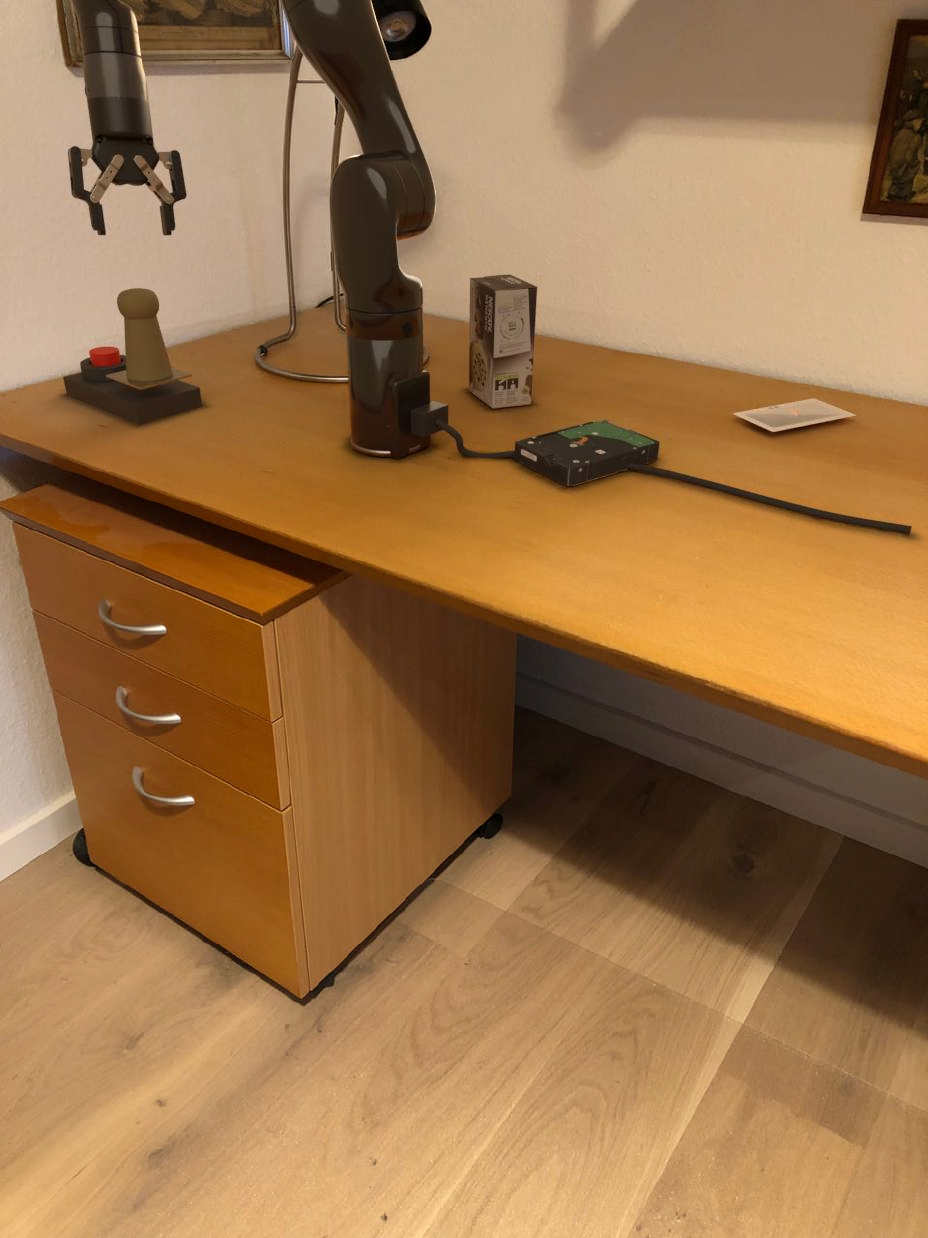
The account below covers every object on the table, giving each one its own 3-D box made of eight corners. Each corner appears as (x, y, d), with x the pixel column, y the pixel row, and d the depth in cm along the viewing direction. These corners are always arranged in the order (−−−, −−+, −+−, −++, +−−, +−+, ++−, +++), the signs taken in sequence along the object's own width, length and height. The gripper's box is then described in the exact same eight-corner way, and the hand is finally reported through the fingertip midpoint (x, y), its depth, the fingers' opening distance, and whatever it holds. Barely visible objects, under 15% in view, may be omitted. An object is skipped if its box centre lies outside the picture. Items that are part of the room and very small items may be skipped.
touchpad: (854, 422, 129) (858, 407, 127) (771, 439, 123) (774, 423, 122) (812, 405, 135) (815, 390, 133) (730, 421, 129) (733, 405, 127)
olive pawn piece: (179, 368, 130) (167, 285, 124) (163, 381, 124) (149, 295, 119) (136, 366, 130) (122, 283, 124) (118, 379, 125) (103, 293, 119)
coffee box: (533, 404, 133) (539, 286, 125) (491, 409, 131) (494, 289, 123) (507, 385, 140) (511, 272, 132) (466, 390, 138) (468, 275, 130)
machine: (202, 406, 131) (198, 374, 128) (139, 425, 124) (133, 391, 122) (128, 379, 140) (123, 349, 138) (66, 395, 134) (60, 363, 132)
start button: (127, 363, 133) (124, 349, 132) (101, 369, 131) (99, 355, 130) (111, 358, 136) (108, 344, 135) (86, 364, 133) (83, 350, 132)
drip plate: (191, 376, 128) (191, 373, 128) (140, 389, 122) (140, 387, 122) (157, 364, 132) (157, 362, 132) (106, 377, 127) (105, 374, 127)
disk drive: (569, 491, 108) (659, 461, 116) (570, 468, 107) (661, 439, 114) (512, 462, 115) (600, 436, 123) (512, 441, 114) (602, 415, 121)
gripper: (63, 90, 114) (84, 234, 120) (181, 97, 121) (196, 234, 126) (54, 98, 120) (74, 235, 126) (167, 105, 127) (181, 235, 133)
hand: (135, 235), depth 126 cm, fingers open, 8 cm apart
